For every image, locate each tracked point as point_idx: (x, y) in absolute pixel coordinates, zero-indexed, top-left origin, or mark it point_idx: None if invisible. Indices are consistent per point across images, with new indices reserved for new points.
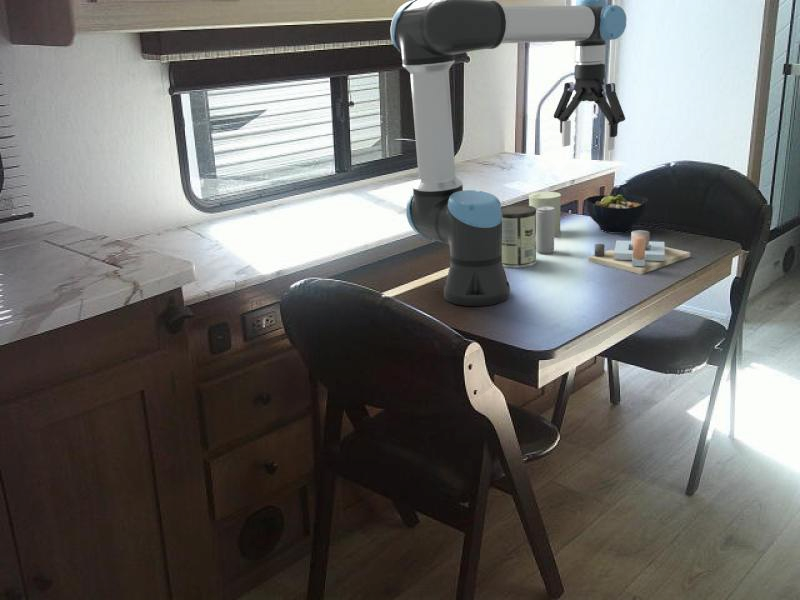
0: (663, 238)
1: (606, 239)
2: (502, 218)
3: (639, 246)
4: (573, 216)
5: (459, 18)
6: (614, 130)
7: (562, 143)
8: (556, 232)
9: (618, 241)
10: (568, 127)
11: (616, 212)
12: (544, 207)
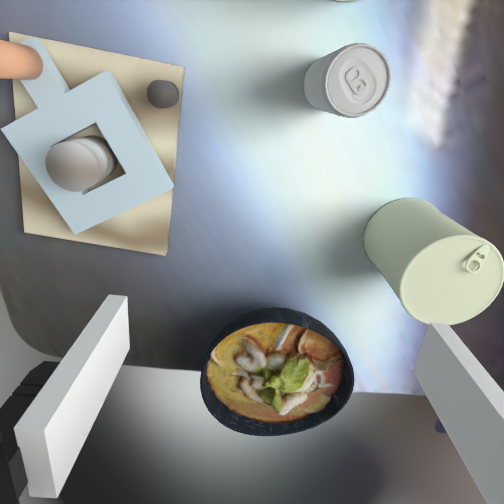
0: (154, 322)
1: (250, 262)
2: None
3: None
4: (401, 383)
5: None
6: (8, 400)
7: (451, 333)
8: (368, 233)
9: (161, 183)
10: (479, 452)
11: (241, 321)
12: (369, 98)
